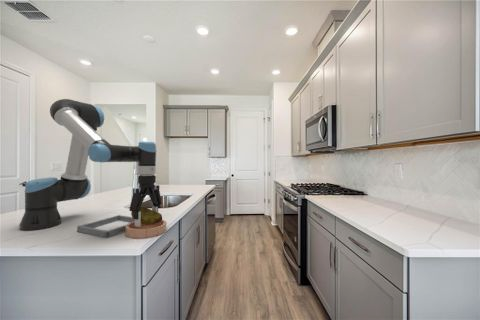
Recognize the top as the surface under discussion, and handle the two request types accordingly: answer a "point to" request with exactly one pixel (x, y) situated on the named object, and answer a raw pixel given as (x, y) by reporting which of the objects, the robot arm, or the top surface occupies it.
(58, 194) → the robot arm
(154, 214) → the pear
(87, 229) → the tray
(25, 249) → the top surface
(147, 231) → the bowl
